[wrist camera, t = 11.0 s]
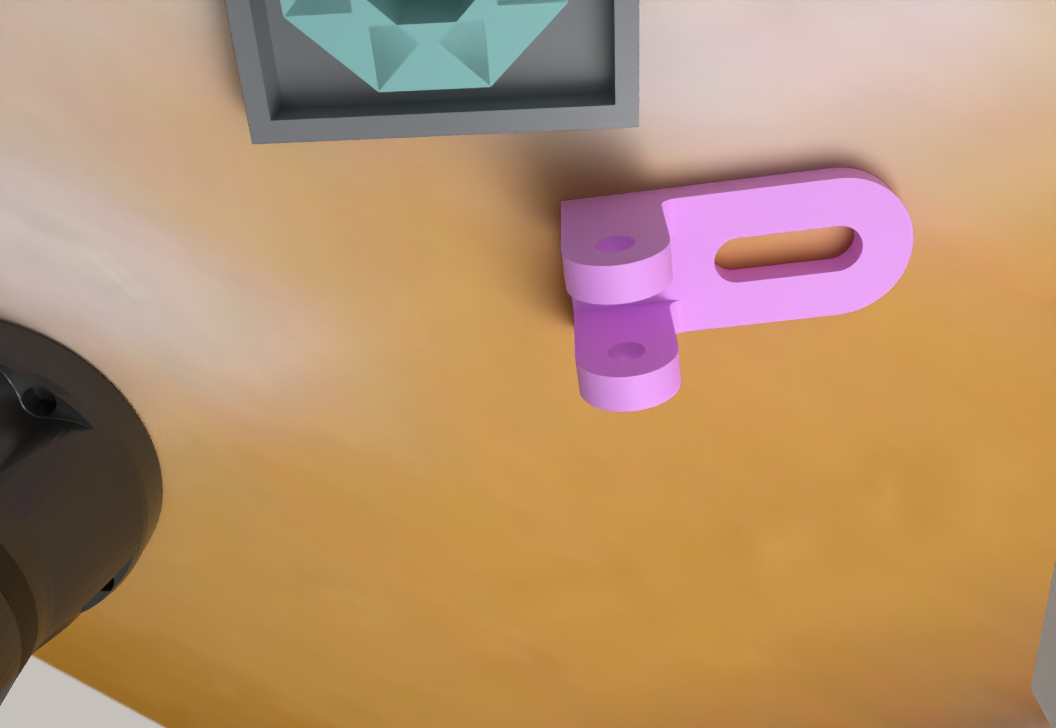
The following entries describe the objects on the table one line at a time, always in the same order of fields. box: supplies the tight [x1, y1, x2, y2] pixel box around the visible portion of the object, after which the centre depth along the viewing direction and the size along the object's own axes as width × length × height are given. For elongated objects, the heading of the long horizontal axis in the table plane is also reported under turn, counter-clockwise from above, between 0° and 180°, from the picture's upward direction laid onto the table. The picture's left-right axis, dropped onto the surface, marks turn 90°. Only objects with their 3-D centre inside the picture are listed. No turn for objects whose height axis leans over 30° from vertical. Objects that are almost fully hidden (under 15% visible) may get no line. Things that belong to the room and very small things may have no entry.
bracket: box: [561, 167, 913, 412], centre depth 36 cm, size 13×6×7 cm, turn 98°
